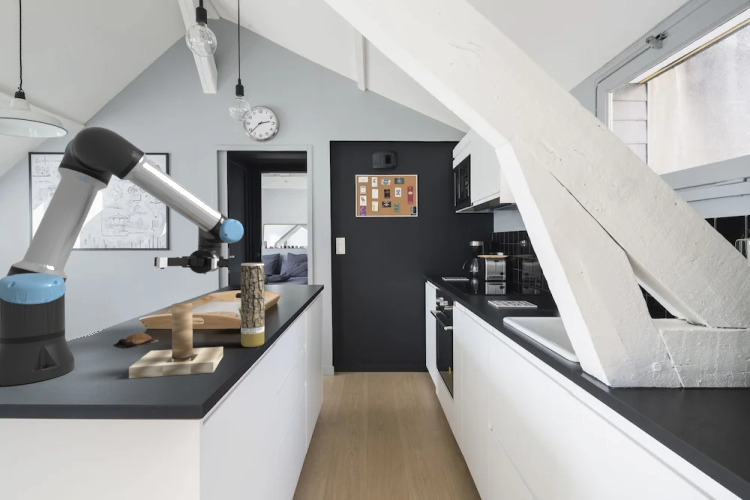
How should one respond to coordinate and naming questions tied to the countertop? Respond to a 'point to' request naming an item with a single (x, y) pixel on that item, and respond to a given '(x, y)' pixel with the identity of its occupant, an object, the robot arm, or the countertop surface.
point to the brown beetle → (135, 341)
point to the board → (176, 363)
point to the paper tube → (252, 304)
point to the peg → (182, 332)
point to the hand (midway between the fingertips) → (185, 263)
